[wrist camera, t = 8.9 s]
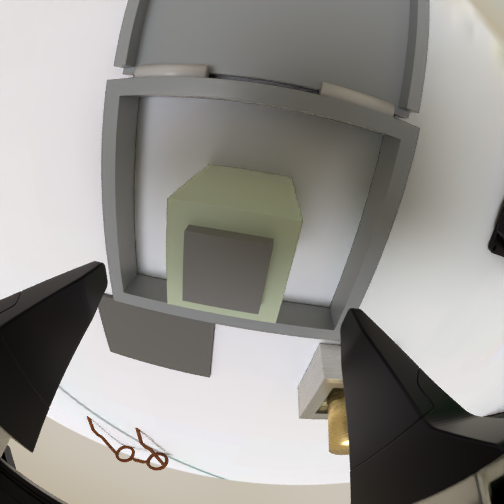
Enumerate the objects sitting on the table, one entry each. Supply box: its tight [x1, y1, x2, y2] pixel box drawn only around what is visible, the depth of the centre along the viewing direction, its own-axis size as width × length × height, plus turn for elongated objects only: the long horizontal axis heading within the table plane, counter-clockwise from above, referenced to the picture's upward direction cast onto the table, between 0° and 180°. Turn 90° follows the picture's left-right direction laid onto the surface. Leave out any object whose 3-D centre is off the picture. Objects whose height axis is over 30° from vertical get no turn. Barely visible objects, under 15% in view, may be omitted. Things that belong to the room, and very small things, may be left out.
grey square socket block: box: [298, 344, 344, 419], centre depth 22 cm, size 7×7×4 cm
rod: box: [327, 388, 349, 455], centre depth 20 cm, size 4×4×8 cm
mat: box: [98, 294, 215, 377], centre depth 23 cm, size 11×8×1 cm
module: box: [166, 164, 303, 323], centre depth 14 cm, size 5×5×8 cm
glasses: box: [87, 416, 168, 470], centre depth 38 cm, size 13×13×5 cm
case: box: [101, 0, 429, 341], centre depth 12 cm, size 17×30×2 cm, turn 171°
